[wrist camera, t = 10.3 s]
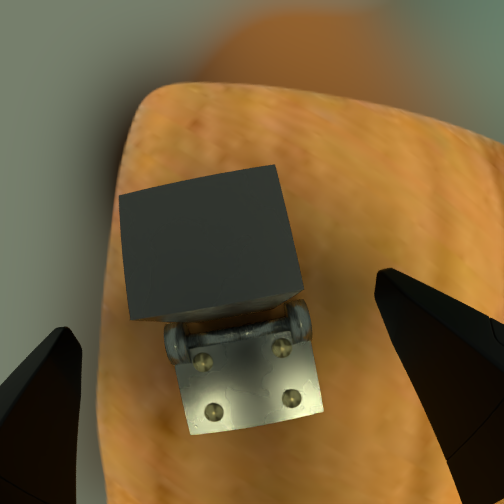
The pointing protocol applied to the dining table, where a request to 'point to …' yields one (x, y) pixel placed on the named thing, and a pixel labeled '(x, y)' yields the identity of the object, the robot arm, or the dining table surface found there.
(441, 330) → the robot arm
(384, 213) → the dining table surface
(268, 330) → the fixed hinge leaf
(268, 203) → the dark grey block
